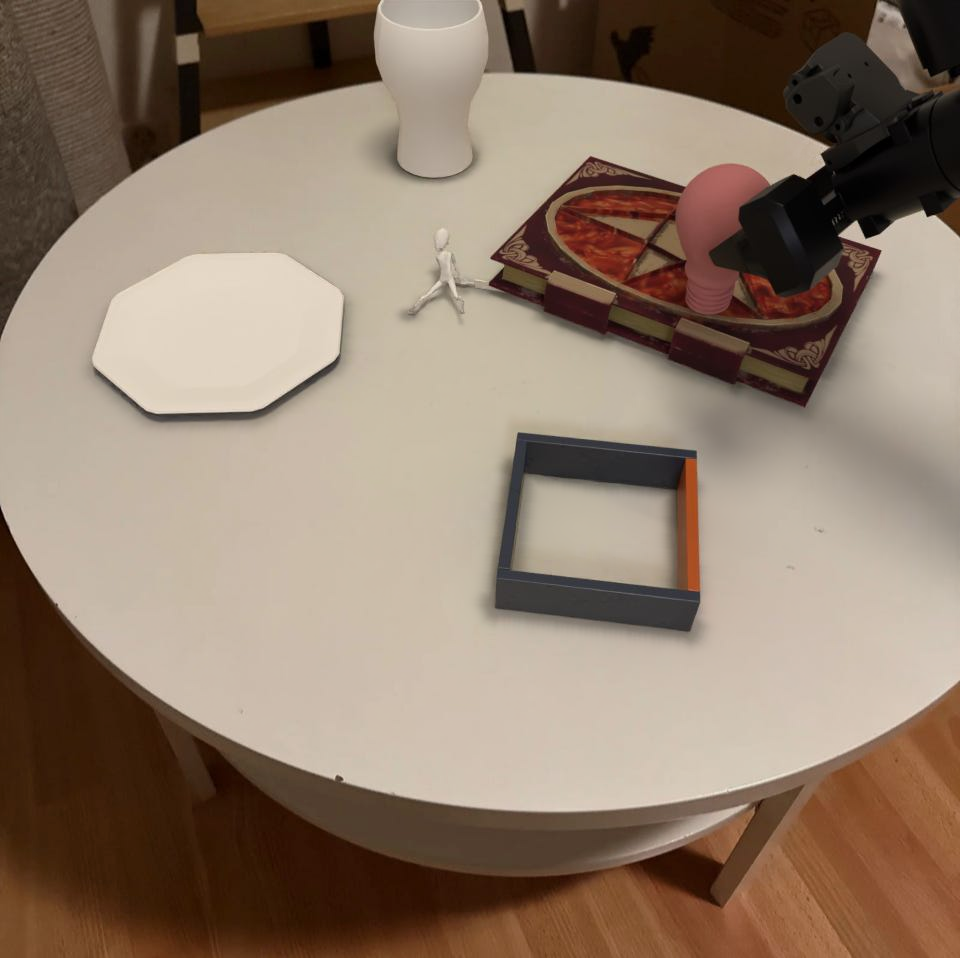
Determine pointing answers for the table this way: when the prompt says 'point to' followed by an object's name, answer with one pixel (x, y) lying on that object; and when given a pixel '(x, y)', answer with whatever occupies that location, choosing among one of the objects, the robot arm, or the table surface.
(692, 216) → the pink screw bulb
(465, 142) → the cup
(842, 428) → the table surface
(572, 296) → the book
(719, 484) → the table surface
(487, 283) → the action figure
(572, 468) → the square frame
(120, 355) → the plate
